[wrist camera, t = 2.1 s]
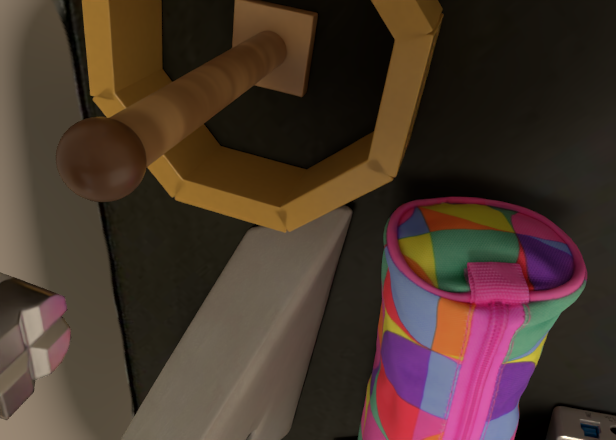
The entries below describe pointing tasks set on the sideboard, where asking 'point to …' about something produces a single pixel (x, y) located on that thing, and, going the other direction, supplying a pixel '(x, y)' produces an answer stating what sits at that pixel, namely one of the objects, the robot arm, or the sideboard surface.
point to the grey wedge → (248, 340)
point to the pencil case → (464, 317)
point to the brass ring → (246, 167)
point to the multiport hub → (580, 425)
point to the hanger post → (188, 101)
